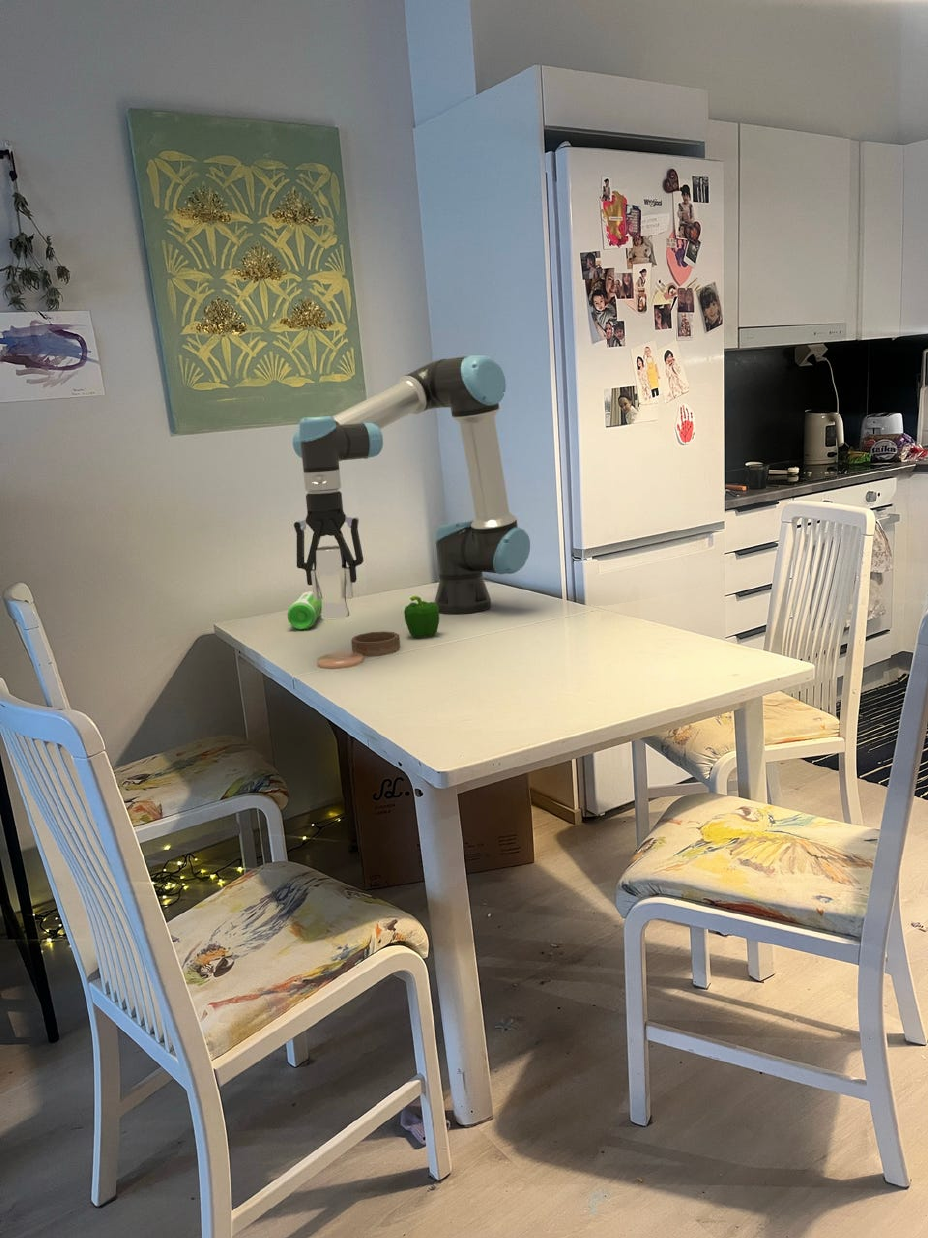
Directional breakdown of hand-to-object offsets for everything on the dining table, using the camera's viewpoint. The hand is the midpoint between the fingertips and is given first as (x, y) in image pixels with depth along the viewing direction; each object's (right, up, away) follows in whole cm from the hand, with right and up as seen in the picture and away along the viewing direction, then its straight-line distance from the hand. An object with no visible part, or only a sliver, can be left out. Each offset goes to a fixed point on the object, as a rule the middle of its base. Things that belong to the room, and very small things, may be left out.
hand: (333, 598), depth 206 cm
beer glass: (0, -4, +1) cm, 4 cm away
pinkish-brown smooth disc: (+1, -14, +3) cm, 14 cm away
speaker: (-13, -6, +45) cm, 47 cm away
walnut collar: (+8, -11, +12) cm, 18 cm away
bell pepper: (+18, -9, +22) cm, 30 cm away
